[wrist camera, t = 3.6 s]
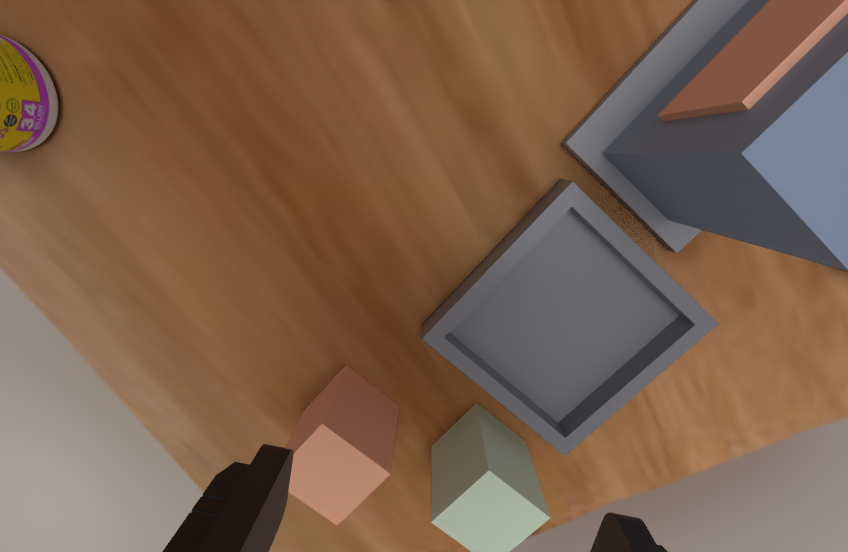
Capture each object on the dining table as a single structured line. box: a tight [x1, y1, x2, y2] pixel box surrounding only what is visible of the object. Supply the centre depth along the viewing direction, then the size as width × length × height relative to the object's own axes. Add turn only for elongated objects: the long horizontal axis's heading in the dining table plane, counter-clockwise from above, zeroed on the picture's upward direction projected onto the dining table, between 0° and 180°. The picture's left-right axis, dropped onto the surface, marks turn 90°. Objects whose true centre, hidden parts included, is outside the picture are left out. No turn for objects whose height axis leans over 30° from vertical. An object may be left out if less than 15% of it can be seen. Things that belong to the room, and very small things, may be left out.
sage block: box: [431, 403, 550, 552], centre depth 29 cm, size 5×5×7 cm
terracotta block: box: [286, 365, 399, 525], centre depth 28 cm, size 5×5×7 cm
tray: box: [422, 179, 719, 456], centre depth 28 cm, size 13×13×2 cm
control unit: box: [561, 0, 848, 271], centre depth 19 cm, size 10×14×13 cm
